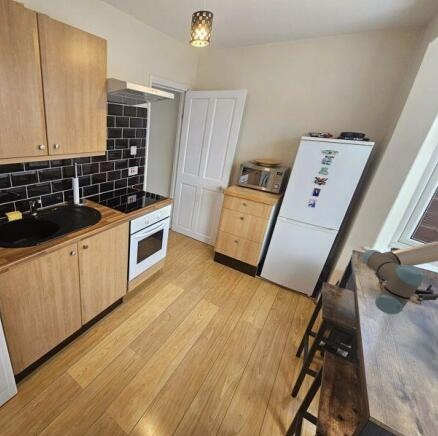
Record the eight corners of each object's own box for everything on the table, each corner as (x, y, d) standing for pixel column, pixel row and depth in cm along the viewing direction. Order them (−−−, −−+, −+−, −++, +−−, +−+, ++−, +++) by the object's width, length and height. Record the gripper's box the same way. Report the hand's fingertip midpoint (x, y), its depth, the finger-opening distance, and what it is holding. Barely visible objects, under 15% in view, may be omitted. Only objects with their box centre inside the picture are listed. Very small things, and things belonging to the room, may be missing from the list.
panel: (419, 297, 118) (422, 292, 116) (418, 305, 112) (421, 300, 110) (383, 282, 127) (385, 277, 126) (380, 289, 121) (383, 284, 120)
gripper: (357, 282, 109) (371, 270, 120) (434, 320, 90) (443, 301, 101) (364, 269, 106) (378, 258, 117) (446, 306, 87) (453, 288, 98)
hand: (408, 278), depth 109 cm, fingers open, 13 cm apart
